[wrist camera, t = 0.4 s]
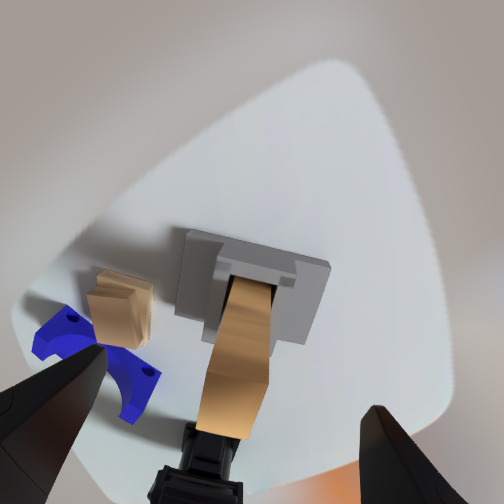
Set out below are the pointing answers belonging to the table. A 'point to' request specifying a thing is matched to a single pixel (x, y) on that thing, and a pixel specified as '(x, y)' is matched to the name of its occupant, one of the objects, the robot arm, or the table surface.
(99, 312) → the upper offcut
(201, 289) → the rack
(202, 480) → the robot arm
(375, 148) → the table surface
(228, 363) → the tall strip
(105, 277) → the lower offcut
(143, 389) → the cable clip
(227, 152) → the table surface
